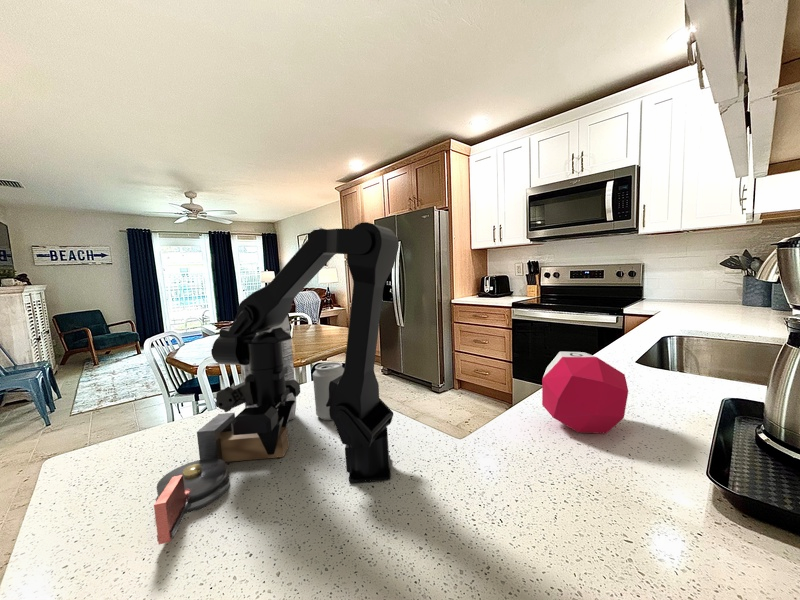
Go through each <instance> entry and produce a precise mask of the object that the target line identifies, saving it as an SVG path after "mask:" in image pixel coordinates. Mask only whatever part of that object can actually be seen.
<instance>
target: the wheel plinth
mask: <svg viewBox="0 0 800 600" xmlns="http://www.w3.org/2000/svg"><path fill="white" fill-rule="evenodd" d="M230 484H231V480H230V475H229V472H228V471H227V479H226V481H225V482H224V484H223V485H222V486H221V487H220V488H218V489H217V490H216V491H214V492H213V493H211V494H210V495H208V496H206V497H204V498H202V499H200V500H197V501H194V502H191V503H190V505H189V507H188V509H187V511H186V513H185V515H186V514H189V513H193V512H195V511H198V510H200V509H203V508H205V507H207V506H209V505H211V504H212V503H214V502H215V501H217V500H218V499H220V498H221V497H222V496H223V495H224V494H225V493H226V492H227V490H228V489H229V488H230ZM157 500H158V495H157V496H156V498H155V502H156V501H157Z"/></svg>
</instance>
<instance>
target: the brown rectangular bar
mask: <svg viewBox="0 0 800 600" xmlns="http://www.w3.org/2000/svg"><path fill="white" fill-rule="evenodd" d="M220 440H221V450H222V459H223V461H224V462H225V463H229V462H240V461H249V460H250V461H253V460H260V459H262V460H264V459H274V458H283V457H284V456H285V454H286V453H287V451H288V449H289V448H290V446H289V436H288V427H287V426H286V427H281V430H280V434H279V438H278V442H277V446H276V450H275V453H274V454H272V455H268V454H267V452H266V450H265V448H264V446H263V444H262V442H261V440H260V438H259V436H258V434H257V433H255V434H243V435H233V434H232V431H229V432H220Z"/></svg>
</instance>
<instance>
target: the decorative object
mask: <svg viewBox="0 0 800 600" xmlns="http://www.w3.org/2000/svg"><path fill="white" fill-rule="evenodd" d="M541 381H542V383H541V384H542V389H541V391H542V393H541V394H542V395H541V399H542V400H541V403H542V404H541V405H542V407H544V409H545V410H546V411H547V413H548V414H549V415H550V416H551V417H552V418H553V419H555V420H556V421H557V422H560V423H562V424H563V425H565V426H567V427H568V428H570V429H572V430H574V431H575V432H578V433H583V434H584V433H585V434H586V433H587V434H602V435H604V434H605V435H606V434H607V433H608V432H610V430H612V429H613V428H614V427H615V426H616V425H618V424H619V423H620V422H621V421H622V420H623V419H624V418H625V414H626V409H627V408H626V407H627V403H628V396H629V389H628V383H627V380H626V375H625V373H623V372H621V371H620V370H618V369H616V368H615V367H614V366H612V365H611V364H609V363H608V362H606V361H604V360H602V359H601V358H599V357H598V356H595V355H592V354H590V353H587V352H583V351H582V352H581V351H559V352H558V353H557V354H556V356H555V357H554V358H553V360H551V362H550V363H549V364H548V365H547V367H546V368H545V372H544V374H543V376H542V379H541Z"/></svg>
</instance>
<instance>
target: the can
mask: <svg viewBox="0 0 800 600" xmlns="http://www.w3.org/2000/svg"><path fill="white" fill-rule="evenodd" d="M344 368H345V367H343V363H342V362H339V361H329V362H324V363H319V364H317V365H316V366H315V367H314V369H315V370H314V371H313V373H312V381H313V392H314V403H315V404H314V405H315V414H316V416H317V417H319V419H321V420H323V421H332V420H331V418H330V415H329V408H330V406H329V407H326V404H327V402H328V399H329V383H330V381H332V380H334V379H336V378H338V377H339V376H341V375H342V374H343V372H344Z"/></svg>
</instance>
